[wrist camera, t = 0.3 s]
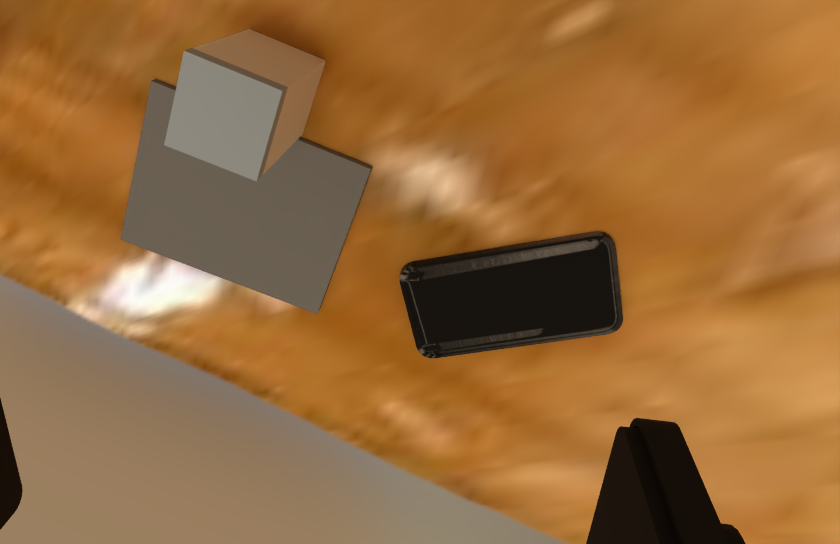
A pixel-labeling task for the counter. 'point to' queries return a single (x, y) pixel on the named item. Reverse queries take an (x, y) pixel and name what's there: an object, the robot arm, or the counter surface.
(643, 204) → the counter surface
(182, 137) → the block
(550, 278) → the phone
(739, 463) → the counter surface
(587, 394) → the counter surface
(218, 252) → the mat
